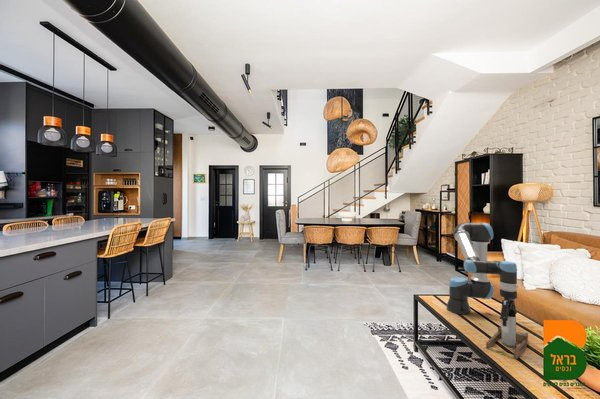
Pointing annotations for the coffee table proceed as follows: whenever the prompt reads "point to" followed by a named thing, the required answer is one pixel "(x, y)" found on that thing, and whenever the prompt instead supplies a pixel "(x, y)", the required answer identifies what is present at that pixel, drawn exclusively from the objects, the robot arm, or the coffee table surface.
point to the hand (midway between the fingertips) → (508, 328)
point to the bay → (520, 339)
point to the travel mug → (510, 331)
